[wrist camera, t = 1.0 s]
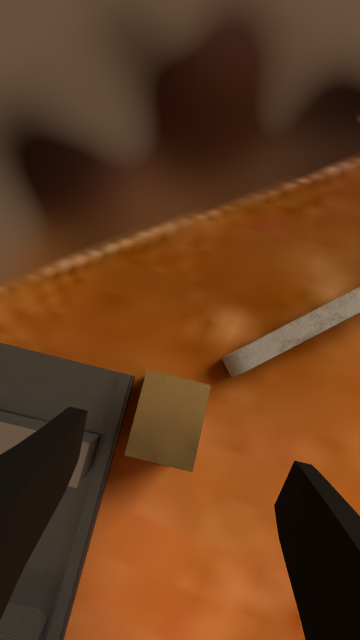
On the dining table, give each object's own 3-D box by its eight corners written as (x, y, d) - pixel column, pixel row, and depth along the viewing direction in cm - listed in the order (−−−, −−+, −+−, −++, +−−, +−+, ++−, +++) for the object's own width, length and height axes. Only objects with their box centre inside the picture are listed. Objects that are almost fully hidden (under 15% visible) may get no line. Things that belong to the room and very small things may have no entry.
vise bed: (61, 647, 21) (32, 726, 16) (-120, 605, 20) (-206, 674, 16) (134, 376, 25) (129, 374, 20) (-16, 339, 24) (-59, 327, 20)
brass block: (183, 451, 24) (192, 471, 18) (131, 438, 24) (124, 455, 18) (198, 386, 25) (211, 385, 19) (148, 373, 25) (147, 369, 19)
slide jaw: (89, 472, 22) (76, 488, 18) (-49, 439, 21) (-87, 448, 18) (99, 435, 22) (89, 443, 19) (-35, 402, 22) (-70, 404, 19)
